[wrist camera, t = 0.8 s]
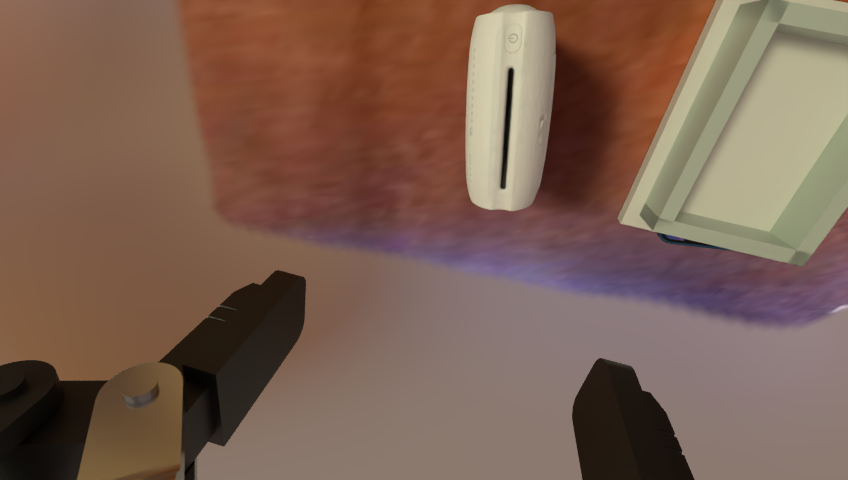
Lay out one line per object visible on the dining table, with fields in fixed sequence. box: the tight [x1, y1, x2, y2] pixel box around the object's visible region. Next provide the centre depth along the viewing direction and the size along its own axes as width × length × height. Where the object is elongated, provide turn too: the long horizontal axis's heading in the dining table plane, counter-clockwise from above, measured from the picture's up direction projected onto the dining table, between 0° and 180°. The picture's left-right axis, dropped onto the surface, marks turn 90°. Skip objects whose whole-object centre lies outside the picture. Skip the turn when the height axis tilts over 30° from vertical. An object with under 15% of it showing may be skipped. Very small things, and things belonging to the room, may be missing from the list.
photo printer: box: [466, 4, 556, 211], centre depth 23 cm, size 10×4×12 cm, turn 1°
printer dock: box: [617, 0, 848, 266], centre depth 25 cm, size 16×12×4 cm
